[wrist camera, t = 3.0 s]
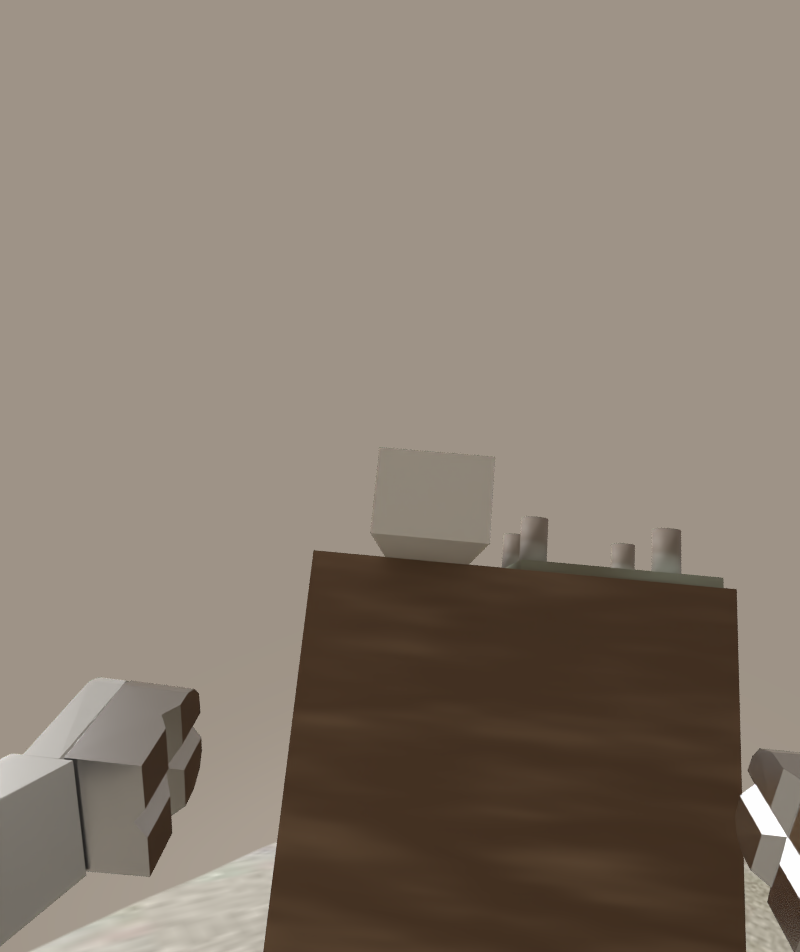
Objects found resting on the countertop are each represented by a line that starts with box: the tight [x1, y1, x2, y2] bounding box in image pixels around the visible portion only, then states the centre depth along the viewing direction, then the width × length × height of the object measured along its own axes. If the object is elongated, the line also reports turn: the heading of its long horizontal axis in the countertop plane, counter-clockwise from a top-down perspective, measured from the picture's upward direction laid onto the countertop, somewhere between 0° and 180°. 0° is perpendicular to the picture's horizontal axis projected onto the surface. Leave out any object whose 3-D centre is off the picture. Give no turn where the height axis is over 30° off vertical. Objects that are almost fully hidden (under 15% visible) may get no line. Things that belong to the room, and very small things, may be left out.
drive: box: [370, 447, 495, 565], centre depth 31 cm, size 22×4×3 cm, turn 178°
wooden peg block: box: [263, 516, 746, 952], centre depth 33 cm, size 14×20×29 cm
